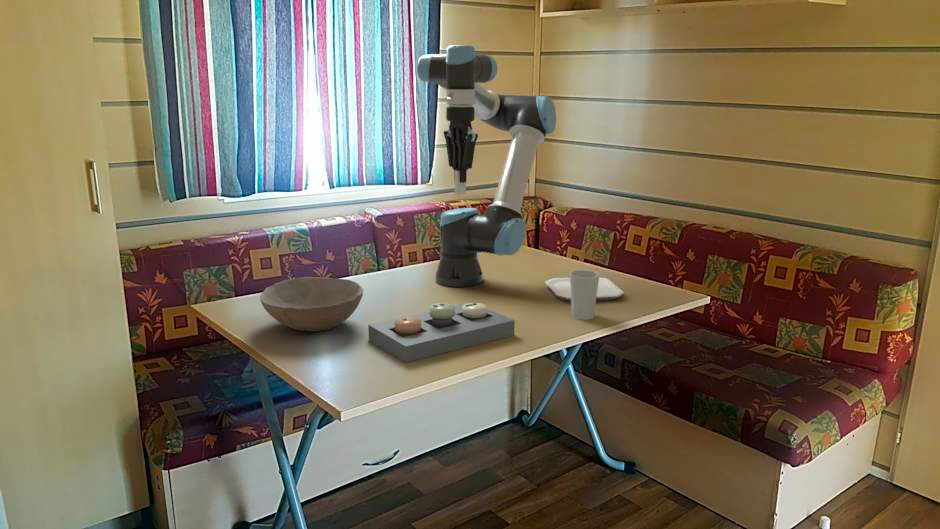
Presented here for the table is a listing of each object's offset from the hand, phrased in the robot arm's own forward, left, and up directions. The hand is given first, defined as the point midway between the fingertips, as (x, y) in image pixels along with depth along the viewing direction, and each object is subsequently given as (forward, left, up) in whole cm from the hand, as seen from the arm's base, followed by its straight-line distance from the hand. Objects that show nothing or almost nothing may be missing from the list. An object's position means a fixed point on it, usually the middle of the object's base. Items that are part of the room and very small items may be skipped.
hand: (460, 193), depth 199 cm
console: (+18, -18, -32) cm, 41 cm away
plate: (+10, +39, -33) cm, 52 cm away
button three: (+18, -8, -31) cm, 37 cm away
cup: (+26, +23, -33) cm, 48 cm away
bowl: (-8, -41, -33) cm, 53 cm away
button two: (+18, -18, -29) cm, 39 cm away
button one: (+18, -28, -31) cm, 45 cm away
